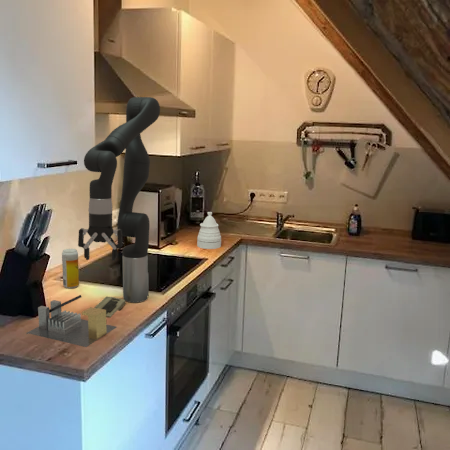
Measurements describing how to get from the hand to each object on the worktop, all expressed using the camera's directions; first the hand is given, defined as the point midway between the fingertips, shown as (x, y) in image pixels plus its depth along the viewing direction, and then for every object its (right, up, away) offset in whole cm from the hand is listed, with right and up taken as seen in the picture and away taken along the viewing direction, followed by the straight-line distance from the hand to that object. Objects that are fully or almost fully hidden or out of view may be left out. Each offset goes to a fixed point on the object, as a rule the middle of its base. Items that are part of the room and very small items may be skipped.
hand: (100, 259), depth 168 cm
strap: (-9, -14, -9) cm, 19 cm away
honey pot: (+33, 0, +103) cm, 108 cm away
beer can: (-20, -13, +34) cm, 42 cm away
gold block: (+1, -22, -11) cm, 25 cm away
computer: (0, -20, +10) cm, 22 cm away
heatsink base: (-7, -23, -8) cm, 25 cm away
